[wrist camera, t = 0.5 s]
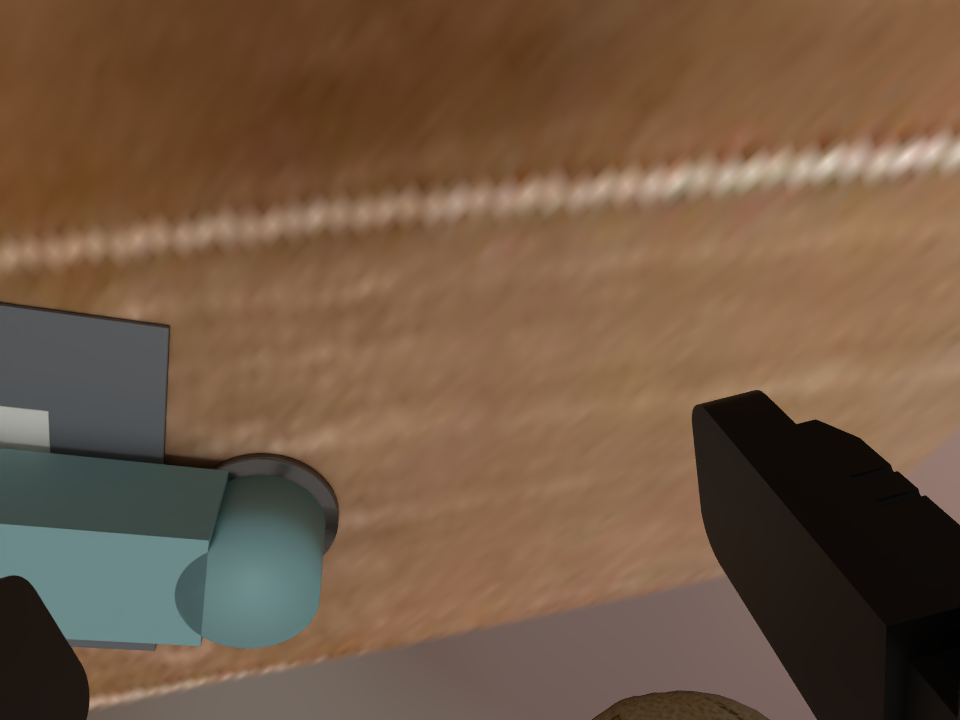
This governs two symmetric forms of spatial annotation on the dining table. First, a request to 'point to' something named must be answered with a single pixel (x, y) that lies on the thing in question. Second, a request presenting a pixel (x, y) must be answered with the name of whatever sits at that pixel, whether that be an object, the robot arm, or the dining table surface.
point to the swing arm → (161, 549)
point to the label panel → (83, 391)
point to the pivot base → (295, 473)
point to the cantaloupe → (679, 708)
